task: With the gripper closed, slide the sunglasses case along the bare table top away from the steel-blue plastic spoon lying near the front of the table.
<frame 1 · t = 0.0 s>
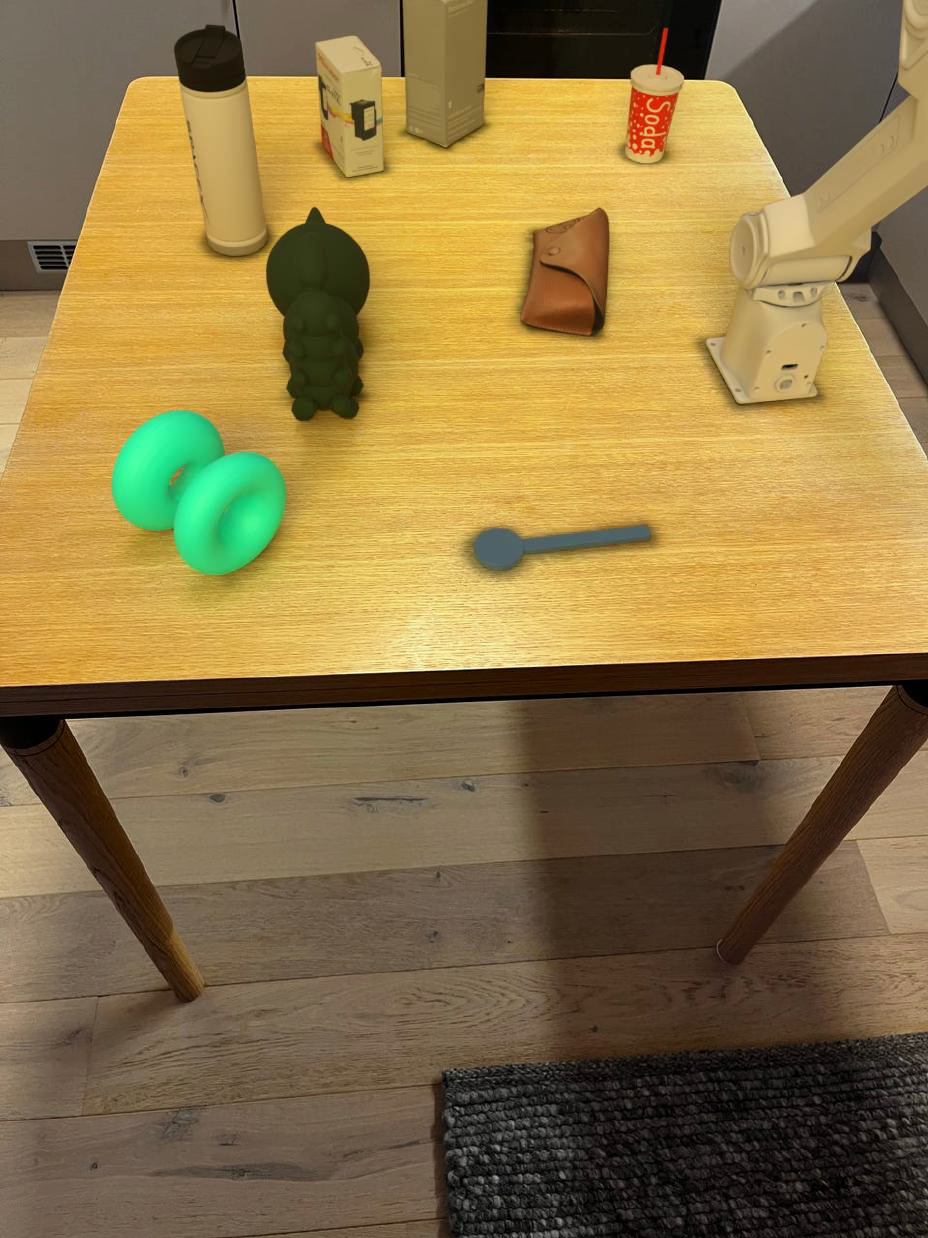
cosmetic box: (444, 129, 124), on the table
ink box: (352, 159, 119), on the table
spoon: (552, 545, 81), on the table
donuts: (211, 539, 80), on the table
travel mug: (238, 241, 107), on the table
toy figurine: (325, 371, 94), on the table
beverage cup: (643, 155, 122), on the table
sunglasses case: (565, 283, 104), on the table
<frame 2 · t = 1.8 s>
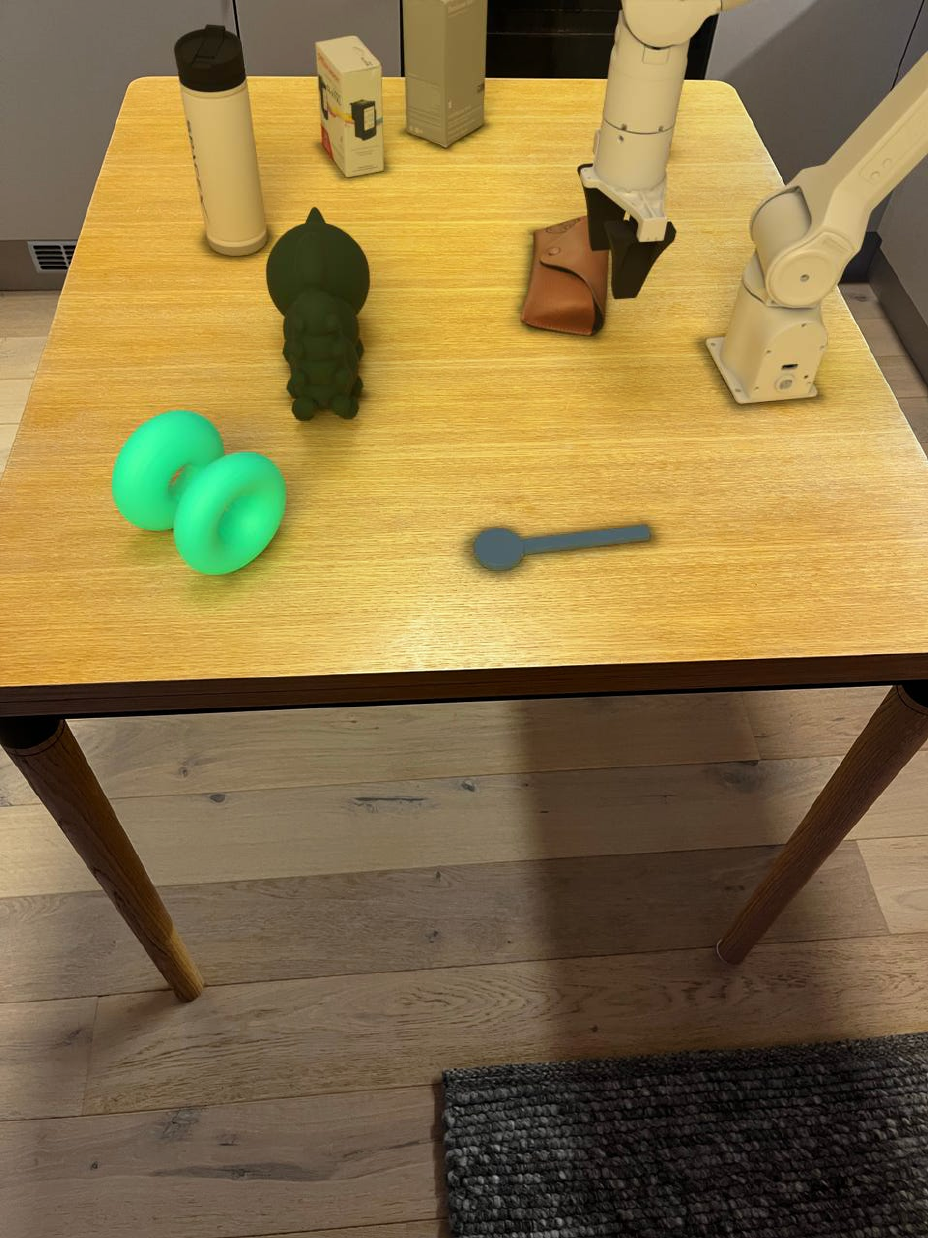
hand: (612, 271, 89), 9 cm above the table, tool pointing down, fingers open, 7 cm apart
nothing on the table moved.
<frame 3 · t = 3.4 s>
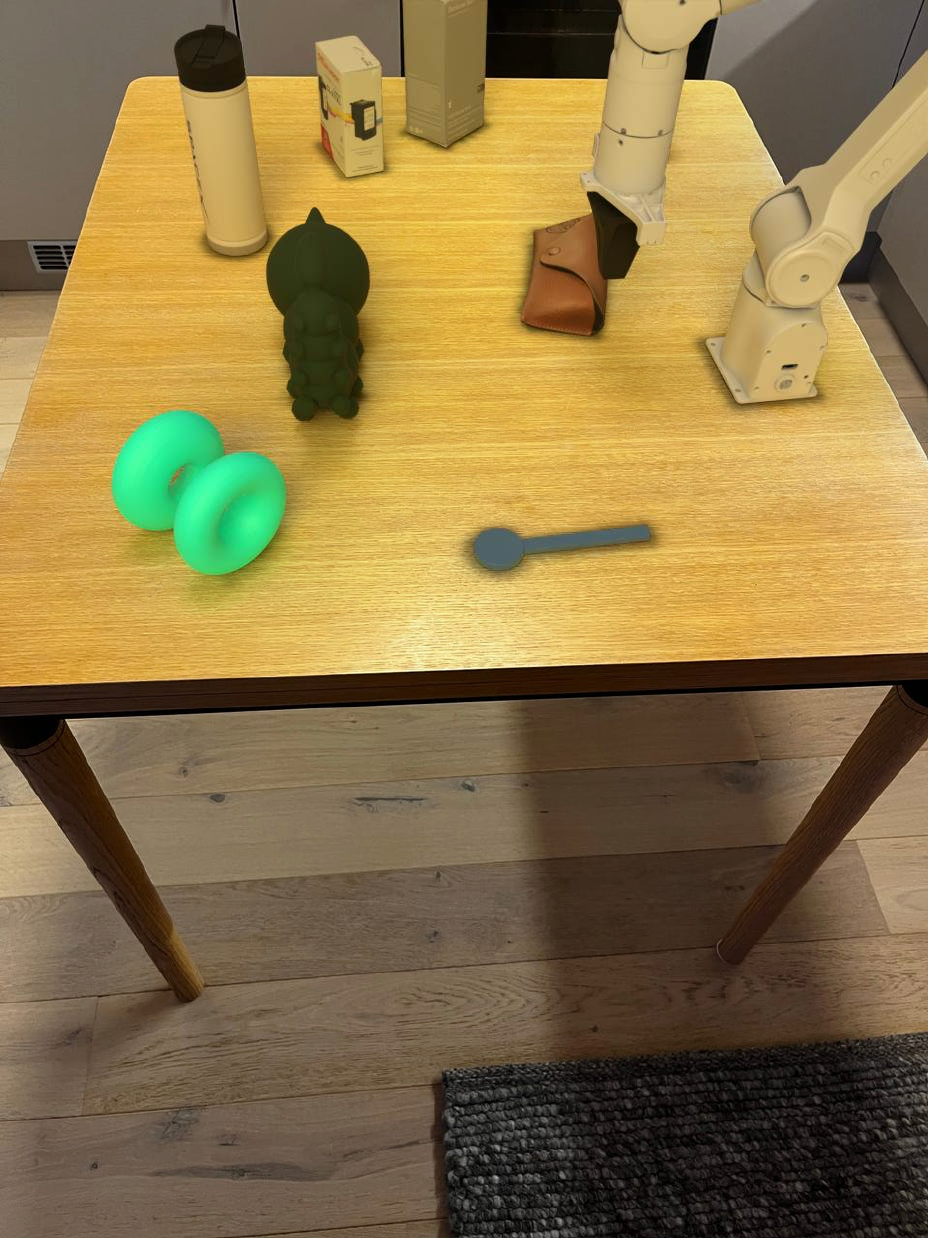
hand: (612, 274, 89), 9 cm above the table, tool pointing down, fingers closed
nothing on the table moved.
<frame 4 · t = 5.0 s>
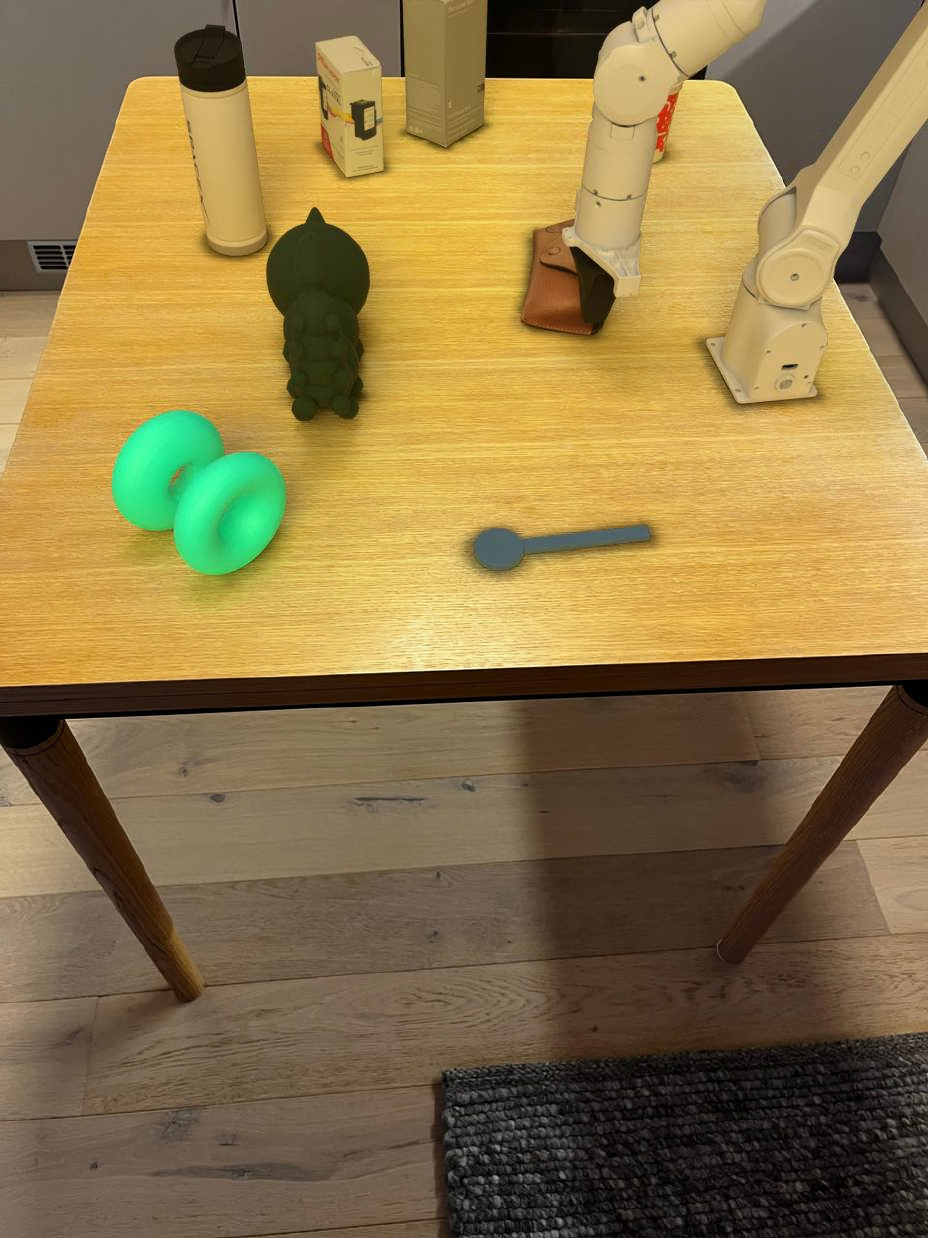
hand: (593, 319, 96), 2 cm above the table, tool pointing down, fingers closed
sunglasses case: (565, 282, 104), on the table, touching gripper
everything else where it was.
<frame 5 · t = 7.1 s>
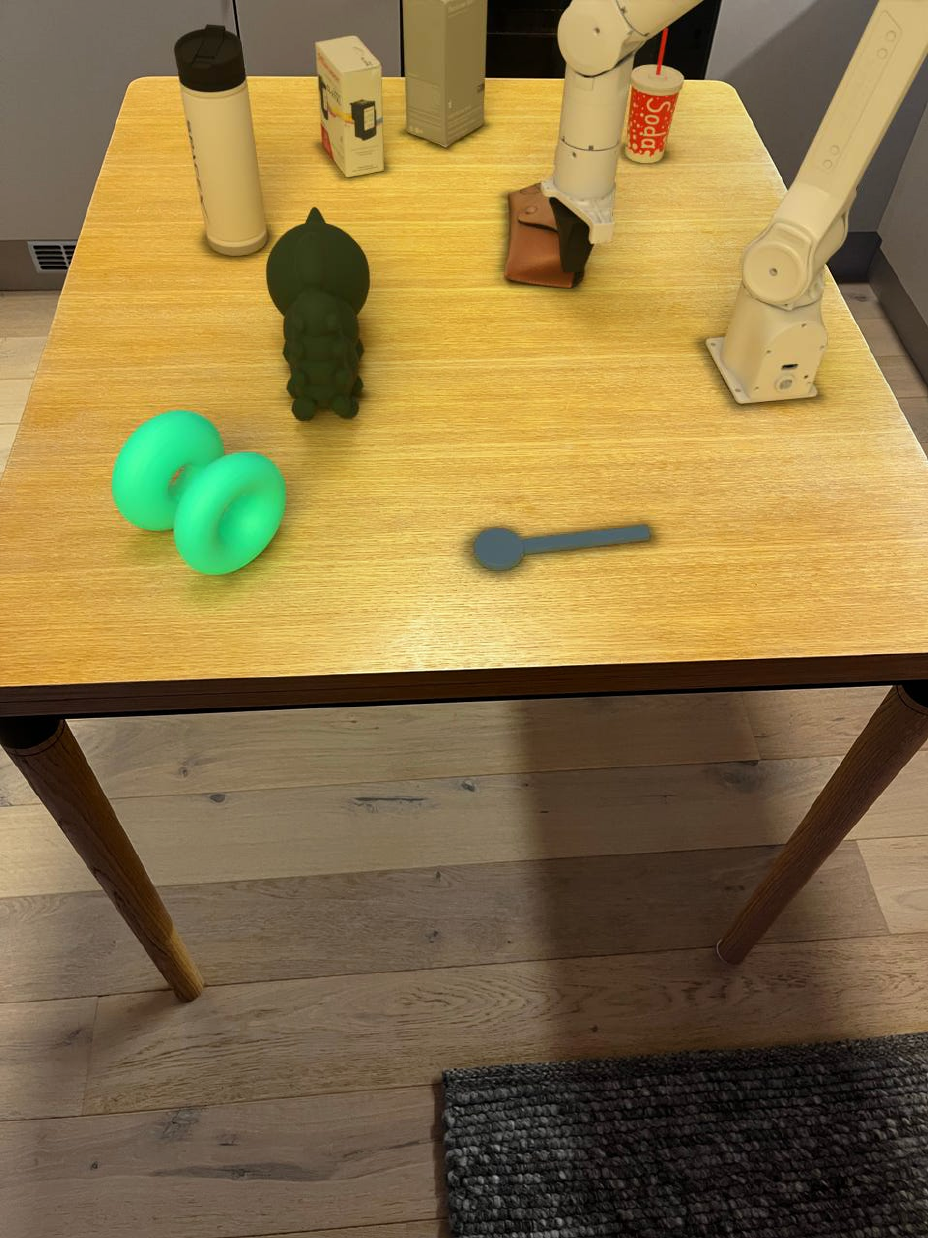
hand: (572, 269, 101), 2 cm above the table, tool pointing down, fingers closed
sunglasses case: (542, 241, 109), on the table, touching gripper
everything else where it was.
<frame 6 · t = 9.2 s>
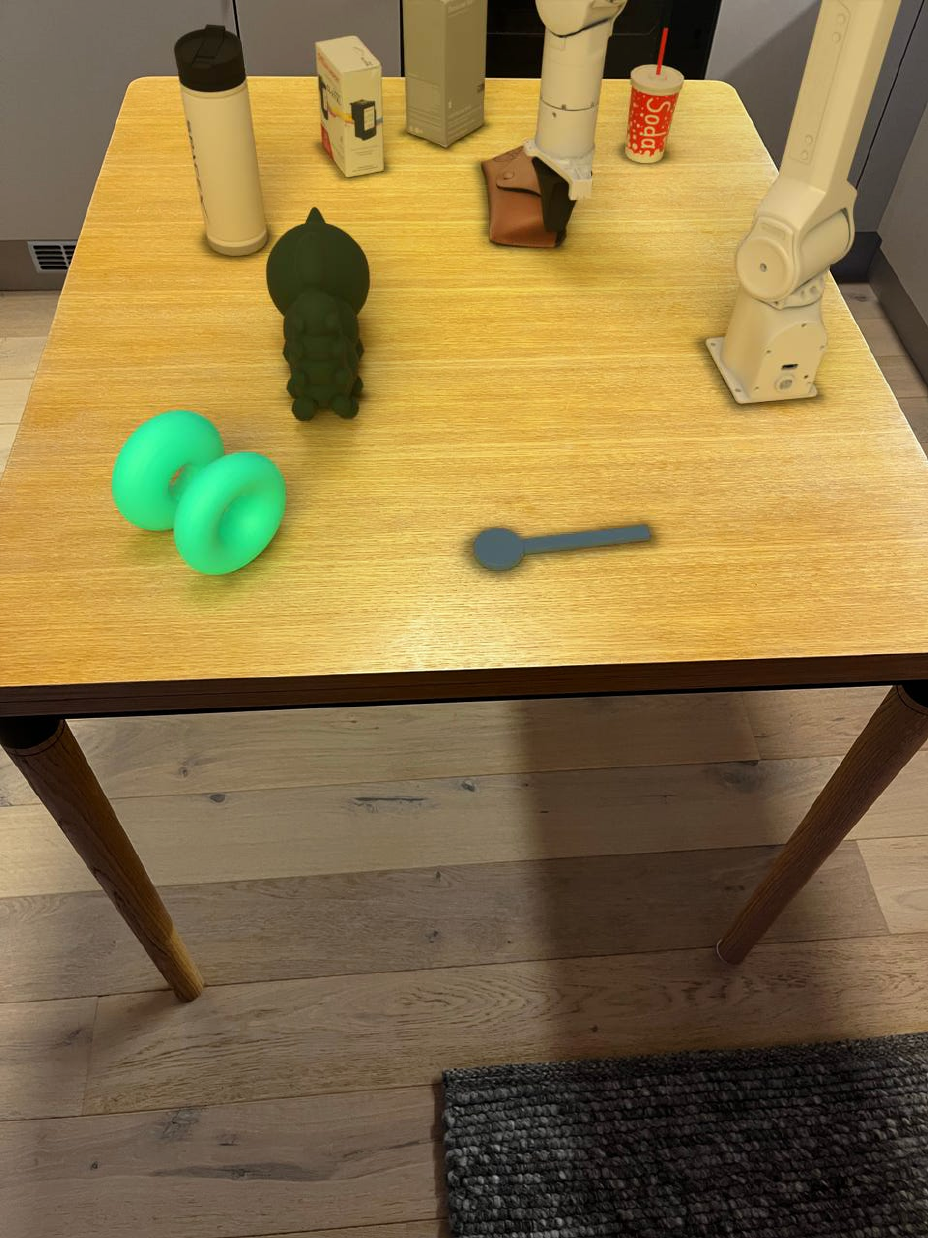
hand: (554, 229, 106), 2 cm above the table, tool pointing down, fingers closed
sunglasses case: (520, 205, 114), on the table, touching gripper
everything else where it was.
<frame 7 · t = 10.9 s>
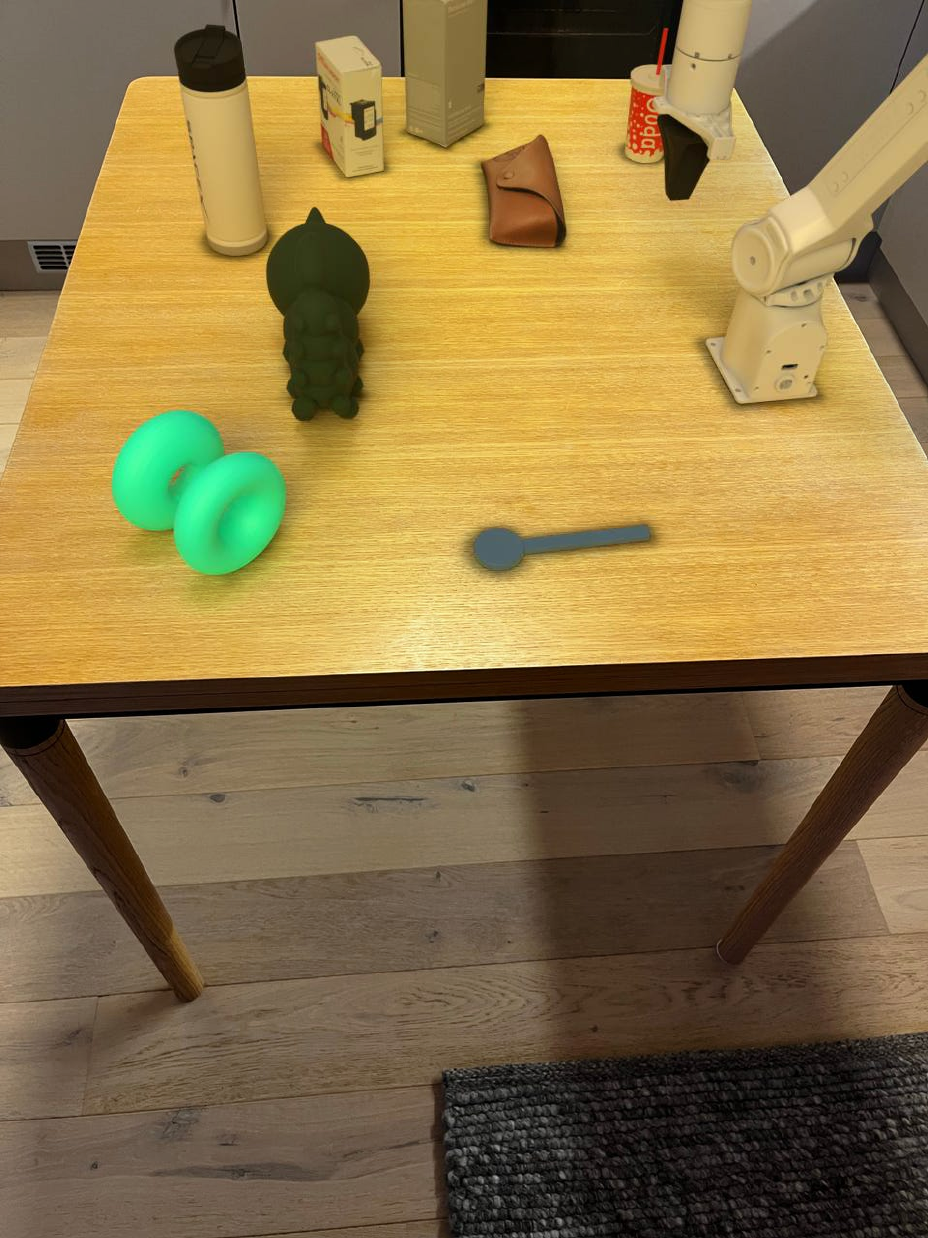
hand: (677, 196, 97), 9 cm above the table, tool pointing down, fingers closed
sunglasses case: (520, 205, 113), on the table
everything else where it was.
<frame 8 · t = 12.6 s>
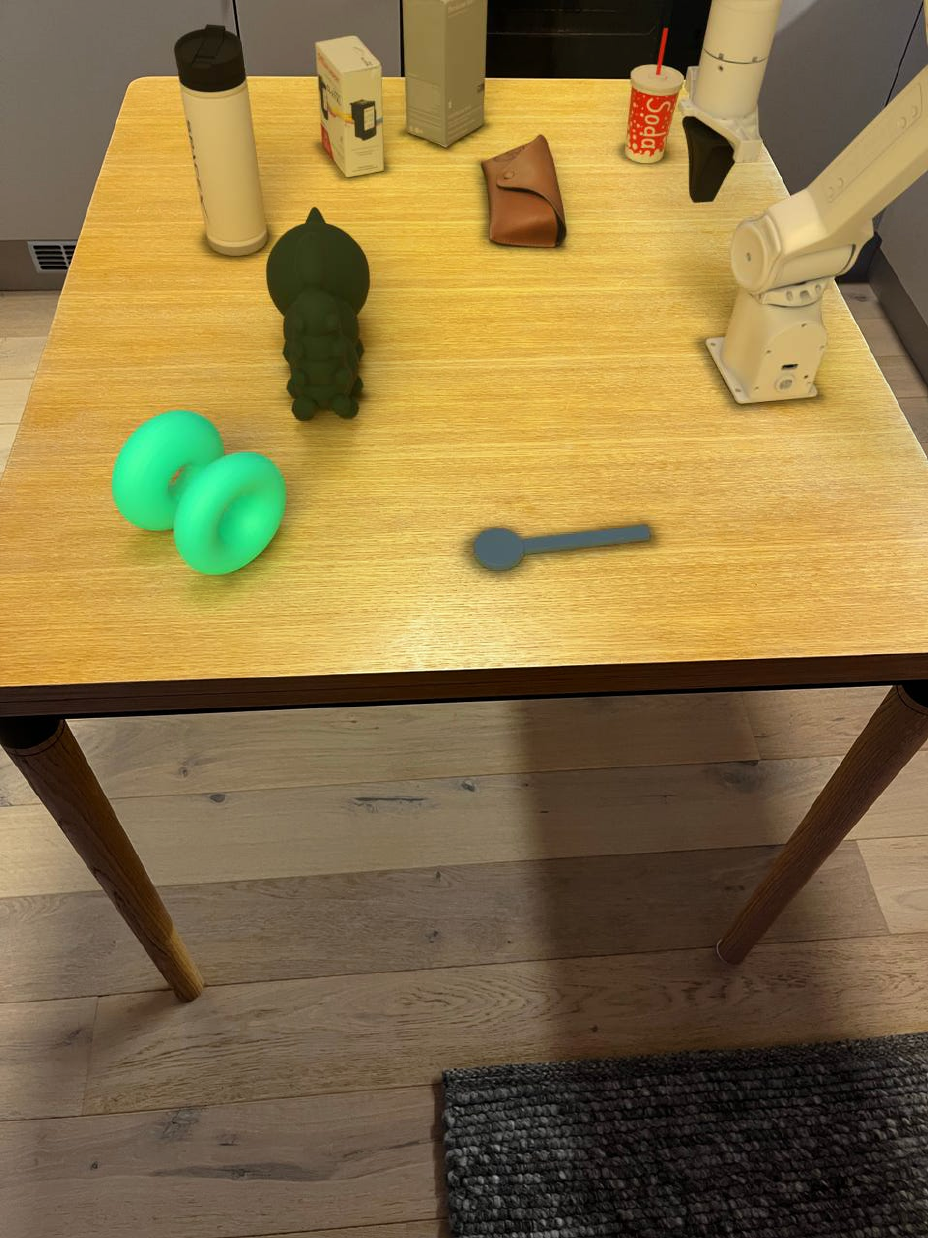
hand: (701, 198, 97), 9 cm above the table, tool pointing down, fingers closed
nothing on the table moved.
at the end: sunglasses case moved 15.6 cm from its start; sunglasses case tilted 0° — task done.
